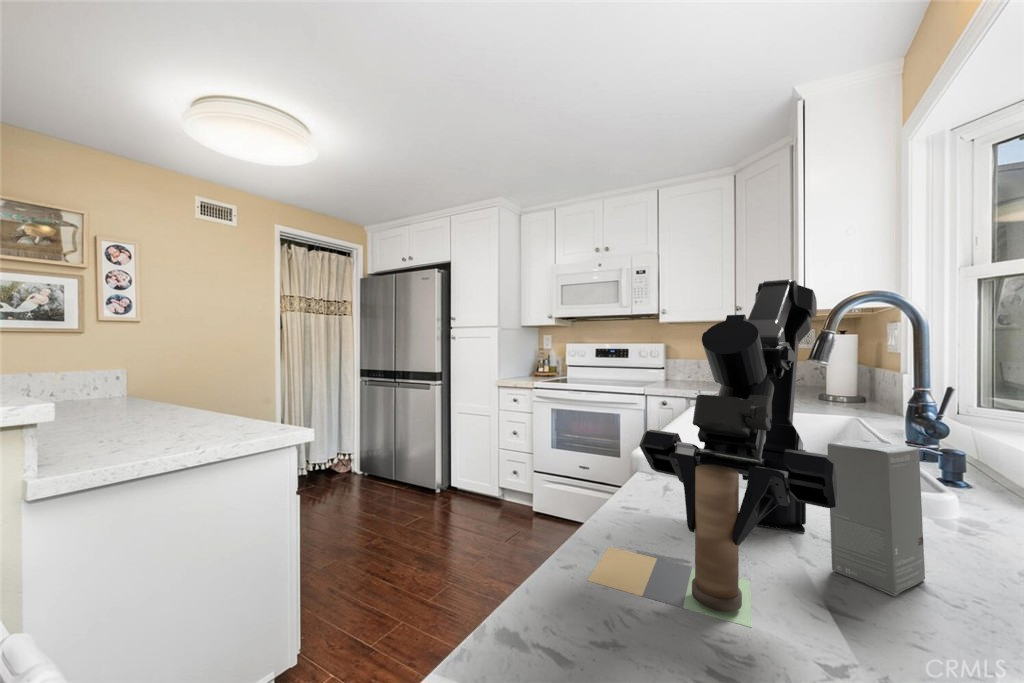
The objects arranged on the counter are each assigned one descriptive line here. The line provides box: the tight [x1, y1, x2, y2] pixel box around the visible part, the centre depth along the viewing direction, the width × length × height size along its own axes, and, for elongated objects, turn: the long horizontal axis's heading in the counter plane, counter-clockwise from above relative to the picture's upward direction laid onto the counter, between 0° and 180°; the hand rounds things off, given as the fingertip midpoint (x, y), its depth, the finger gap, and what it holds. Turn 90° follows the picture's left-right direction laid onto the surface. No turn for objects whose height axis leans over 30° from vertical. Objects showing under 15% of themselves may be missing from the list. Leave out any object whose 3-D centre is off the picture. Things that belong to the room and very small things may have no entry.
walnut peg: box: [692, 465, 742, 612], centre depth 43 cm, size 5×5×13 cm
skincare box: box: [826, 439, 926, 597], centre depth 51 cm, size 8×7×16 cm
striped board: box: [586, 546, 753, 629], centre depth 47 cm, size 16×9×1 cm, turn 61°
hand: (712, 536), depth 42 cm, fingers closed on walnut peg, 4 cm apart
